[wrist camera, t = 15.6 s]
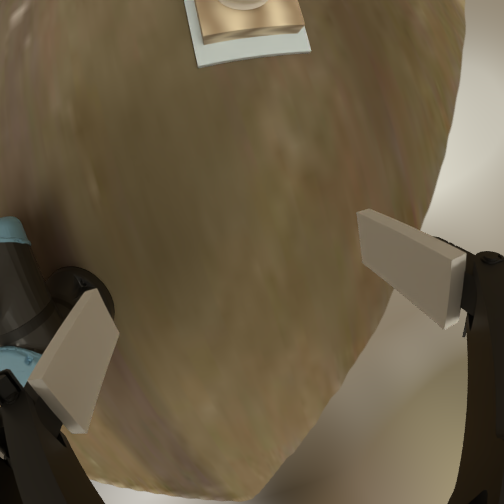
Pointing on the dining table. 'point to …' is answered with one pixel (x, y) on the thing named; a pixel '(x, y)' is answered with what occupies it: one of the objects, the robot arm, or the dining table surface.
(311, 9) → the dining table surface
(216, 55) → the board
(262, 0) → the jar
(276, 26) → the tan flat block
